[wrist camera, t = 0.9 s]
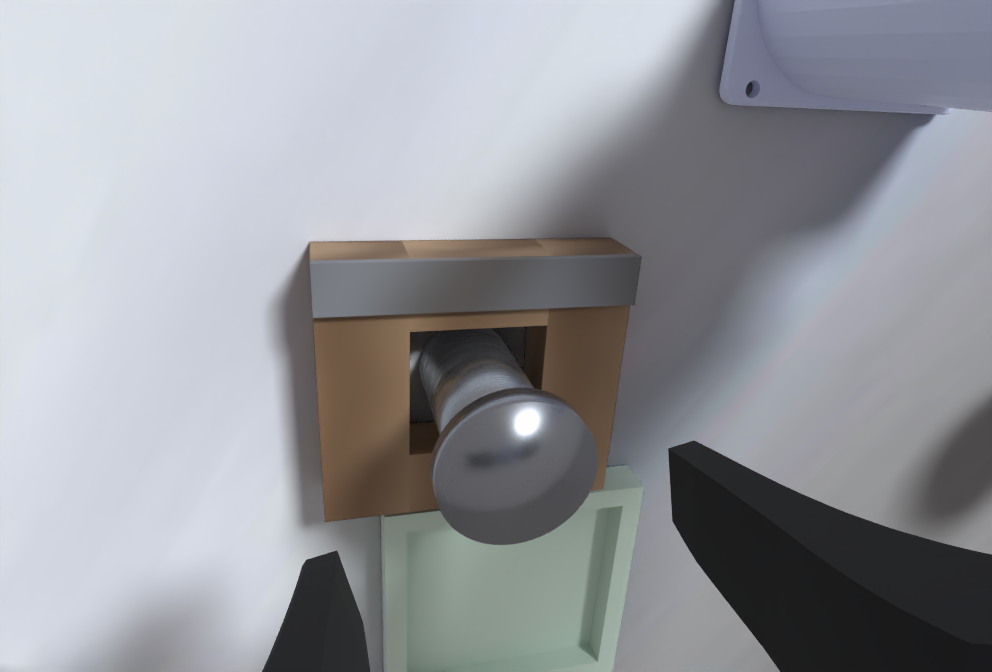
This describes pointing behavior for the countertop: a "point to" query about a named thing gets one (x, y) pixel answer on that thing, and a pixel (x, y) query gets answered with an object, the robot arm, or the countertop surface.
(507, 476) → the pin
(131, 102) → the countertop surface
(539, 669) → the tray
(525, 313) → the block
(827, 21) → the robot arm
